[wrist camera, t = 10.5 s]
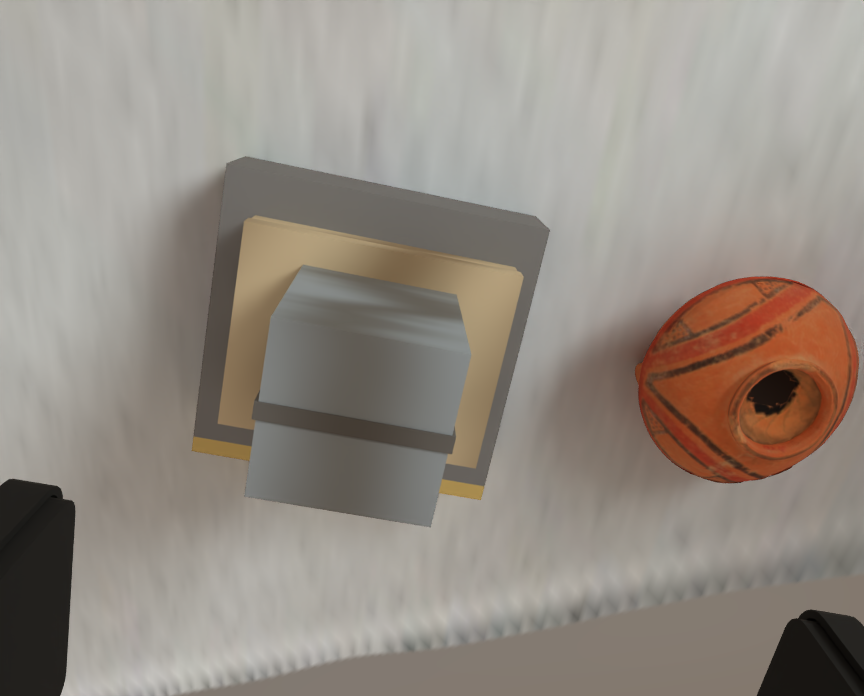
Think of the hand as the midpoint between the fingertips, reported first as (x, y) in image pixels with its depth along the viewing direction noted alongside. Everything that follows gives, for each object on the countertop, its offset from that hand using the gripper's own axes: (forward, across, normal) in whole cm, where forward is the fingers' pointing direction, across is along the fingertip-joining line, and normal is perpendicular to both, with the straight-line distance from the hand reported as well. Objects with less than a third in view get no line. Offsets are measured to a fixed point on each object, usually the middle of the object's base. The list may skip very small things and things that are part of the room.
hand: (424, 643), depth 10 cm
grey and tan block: (+18, +2, +2) cm, 18 cm away
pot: (+21, -12, +1) cm, 24 cm away
